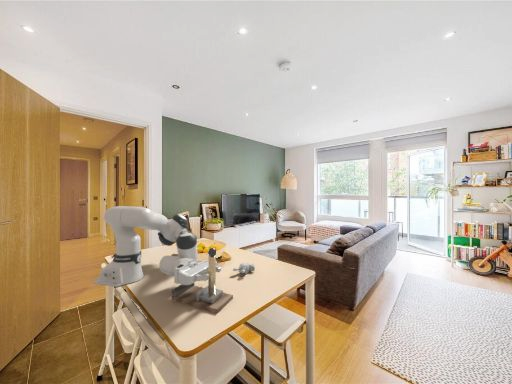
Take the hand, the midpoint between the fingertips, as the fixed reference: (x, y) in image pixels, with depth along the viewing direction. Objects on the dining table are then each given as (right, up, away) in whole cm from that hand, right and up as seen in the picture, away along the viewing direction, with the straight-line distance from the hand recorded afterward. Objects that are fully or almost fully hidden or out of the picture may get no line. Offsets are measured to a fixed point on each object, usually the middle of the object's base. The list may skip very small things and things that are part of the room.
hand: (214, 273), depth 87 cm
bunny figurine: (+12, -12, +32) cm, 36 cm away
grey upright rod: (-2, -10, 0) cm, 10 cm away
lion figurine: (-32, -12, +45) cm, 57 cm away
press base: (-6, -12, +2) cm, 13 cm away
